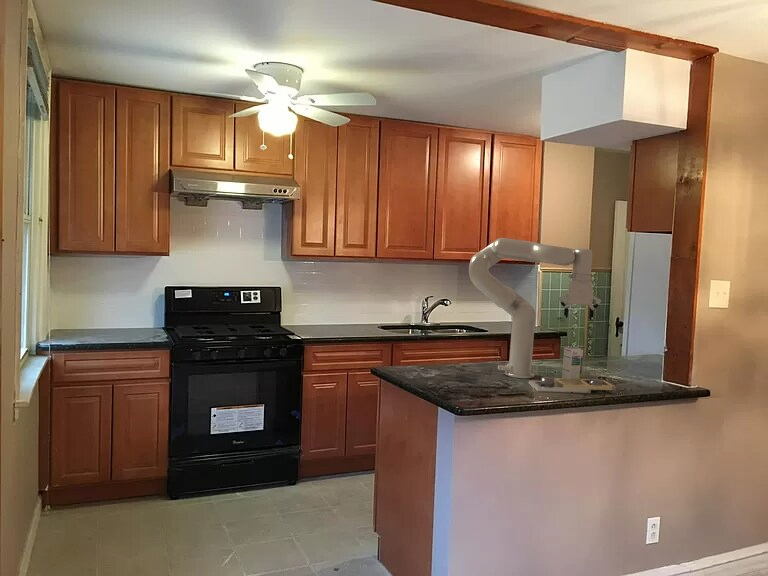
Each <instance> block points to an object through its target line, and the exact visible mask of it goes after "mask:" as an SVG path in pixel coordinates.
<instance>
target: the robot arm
mask: <svg viewBox="0 0 768 576" xmlns="http://www.w3.org/2000/svg"><path fill="white" fill-rule="evenodd" d="M503 259H508V260H514V261H515V260H517V261H524V262H530V263H543V264H550V265H556V266H564V267H566V266H570V265H572V270H571V274H568V275H567V276H568V279H571V280H569V284H568V288H567V293H566V294H563V295H561V296H559V297H558V300H559V301H558V302H559V303H560V304H561V306H562V307H564V309H563V310H564V311H563V316H565V318H566V319H567V318H568V317H569V307H570V306H571V305H573V306H574V305H575V306H588V307H589V308H590V309H589V311H588V319H589V320H592V318H594V313H595V312H594V310H596V309H597V308H598V307H599V306H600V304H601V302H602V299H600V298H598V297H596V296H595V295H594V285H593V282H592V281H591V279H592V278H591V277H592V266H593V265H592V263H593V251H592V250H591V248H590V249H589V248H569V247H564V246H555V245H549V244H543V243H540V242H539V243H538V242H536V241H530V240H522V239H521V240H520V239H514V238H507V237H499V238H497V239H496V240H494V241H493V242H491V243H490V244H488V245H487V246H486V247H484V248H483V249H481V250H480V251H478V252H477V253H475V254H474V255H472V256H471V258H470V262H469V265H468V275H469V279H470V281H471V283H472V284H473V285H474V287H475V288H476V289H477V290H478V291H480V293H482V294H484V296H485V297H487V298H488V299H489V300H490V301H492V302H493V303H494V305H495V306H497V307H498V308H500V309H502V310H503V311H505V312H506V313H507V314H508V315H510V316H511V317H512V322H511V332H510V333H511V334H510V345H509V347H510V349H509V362H507V363H506V364H505V365H502V364H501V365H500V364H498V365H497V370H499V371H504V374H505V375H506V376H508V377H512V378H515V379H516V378H517V379H533V378H534V377H535V373H534V372H533V371H532V363H533V350H534V338H535V329H536V320H537V314H536V313H537V312H536V309H535V307H534V306H533V305H532V304H531V303H530V301H527V300H526V299H525V298H524V297H523V296H522V295H520V294H519V293H518V292H517V291H515V290H514V289H513V288H511V287H510V286H507V285H504V284H503V283H502V282H501V281H500V280H498V279H497V278H496V277H494V275H493V274H491V272H490V270H489V269H490V268H492V266H494V265H496V264H497V263H499V262H500V261H502V260H503ZM563 299H566V303H565V302H564V300H563ZM594 300H595V301H596V303H594V304H593V302H594Z"/></svg>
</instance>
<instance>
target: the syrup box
mask: <svg viewBox="0 0 768 576" xmlns="http://www.w3.org/2000/svg"><path fill="white" fill-rule="evenodd" d="M583 358H584V349H583V348H581V347H576V346H575V347H574V346H572V347H571V346H570V347H568V346H567V347H563V358H562V359H563V361H562V376H561V378H571V379H582V371H583Z"/></svg>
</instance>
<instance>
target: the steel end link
mask: <svg viewBox="0 0 768 576" xmlns="http://www.w3.org/2000/svg"><path fill="white" fill-rule="evenodd" d="M554 378H555V377H549V376H542V377H540V380H530V379H529V380H528V385H529V384H530V385H531V386H530V385H529V386H530V387H531V388H533V389H534V388H535V389H536V390H535V389H534V390H535V391H536V392H544V393H546V392H547V393H548V392H549V393H550V392H551V393H571V392H573V394H575V393H578V394H591V393H592V391H591V389H564V388H561V387H560V386H559V385H557V384H556V383H554ZM565 384H578V383H565ZM554 386H555V387H554Z"/></svg>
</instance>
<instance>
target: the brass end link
mask: <svg viewBox="0 0 768 576" xmlns="http://www.w3.org/2000/svg"><path fill="white" fill-rule="evenodd" d="M553 378H554V383H556V384H557V385H559V386H560V387H561V388H564V389H591V390H592V391H591V392H598V391H600V392H602V391H605V392H607V391H608V392H607V393H609V392H610V393H609V394H611V393H612V394H611V395H615V394H616V387H617V386H616V385H613V384H612V383H610V382H608V381H607V380H605V379H599V378H581V379H571V378H562V377H553ZM565 383H578V384H565Z"/></svg>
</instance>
